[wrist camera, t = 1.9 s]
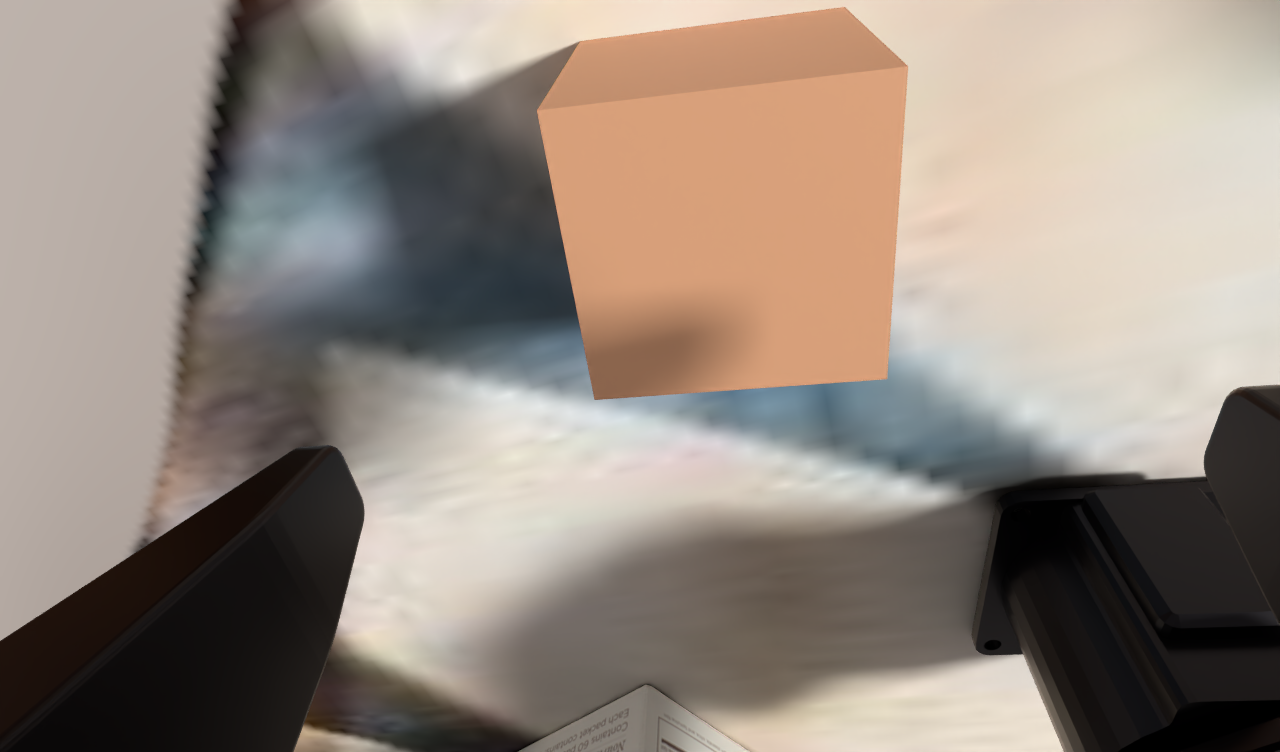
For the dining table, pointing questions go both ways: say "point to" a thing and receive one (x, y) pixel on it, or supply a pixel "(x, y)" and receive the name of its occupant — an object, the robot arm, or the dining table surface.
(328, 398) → the dining table surface
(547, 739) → the supplement box
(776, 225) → the cube
